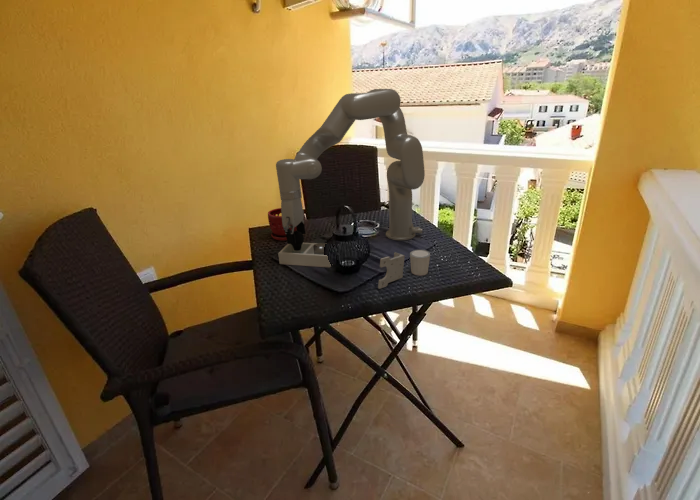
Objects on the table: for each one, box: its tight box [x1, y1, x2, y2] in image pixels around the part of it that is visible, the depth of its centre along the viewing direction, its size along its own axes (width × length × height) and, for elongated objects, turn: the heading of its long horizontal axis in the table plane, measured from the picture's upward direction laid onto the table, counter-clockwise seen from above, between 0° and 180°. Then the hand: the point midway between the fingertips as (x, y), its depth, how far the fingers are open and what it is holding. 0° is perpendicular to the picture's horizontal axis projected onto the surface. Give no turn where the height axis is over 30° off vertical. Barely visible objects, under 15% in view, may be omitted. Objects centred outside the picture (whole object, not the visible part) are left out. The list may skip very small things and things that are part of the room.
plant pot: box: [267, 207, 297, 241], centre depth 164 cm, size 13×13×12 cm
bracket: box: [377, 252, 406, 289], centre depth 122 cm, size 11×4×10 cm, turn 133°
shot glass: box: [409, 249, 431, 276], centre depth 128 cm, size 7×7×7 cm
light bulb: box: [291, 230, 305, 253], centre depth 142 cm, size 6×6×10 cm
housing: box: [277, 242, 332, 268], centre depth 142 cm, size 20×11×6 cm, turn 75°
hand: (296, 238), depth 141 cm, fingers open, 9 cm apart
